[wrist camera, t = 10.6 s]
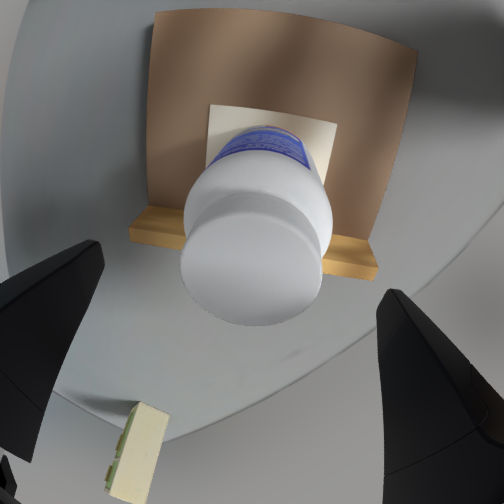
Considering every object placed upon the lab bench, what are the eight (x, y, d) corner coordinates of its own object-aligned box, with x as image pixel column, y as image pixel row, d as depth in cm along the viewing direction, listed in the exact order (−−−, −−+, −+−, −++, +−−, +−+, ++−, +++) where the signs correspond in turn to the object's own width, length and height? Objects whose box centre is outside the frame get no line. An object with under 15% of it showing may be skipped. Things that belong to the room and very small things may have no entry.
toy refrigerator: (135, 398, 43) (105, 493, 26) (170, 414, 45) (145, 508, 27) (127, 406, 47) (100, 489, 30) (158, 420, 49) (136, 502, 32)
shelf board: (408, 52, 11) (443, 48, 8) (358, 241, 19) (372, 281, 16) (165, 16, 12) (131, 2, 8) (157, 208, 20) (130, 241, 16)
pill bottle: (202, 161, 16) (118, 258, 8) (275, 104, 13) (261, 135, 5) (260, 226, 18) (236, 357, 10) (332, 179, 15) (377, 297, 7)
